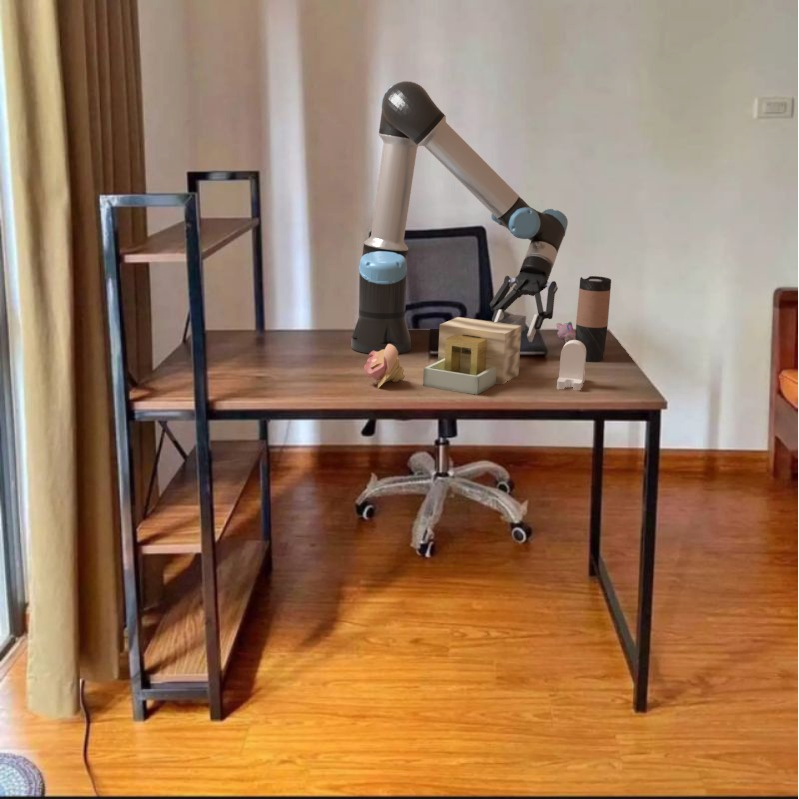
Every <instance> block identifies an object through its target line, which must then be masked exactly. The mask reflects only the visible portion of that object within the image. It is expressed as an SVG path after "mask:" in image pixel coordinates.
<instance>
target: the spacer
mask: <svg viewBox="0 0 799 799" xmlns="http://www.w3.org/2000/svg"><path fill="white" fill-rule="evenodd" d="M486 345H487V339H484V338H477V337H470V336H463V335H456V334H455V335H453V336H451V337H448V338H446V348H445V371H450V372H456V373H460V353H461V347H464V348H471V365H470V375H475V376H477V375H478V374H480V373H482V372H484V371H485V363H486Z"/></svg>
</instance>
